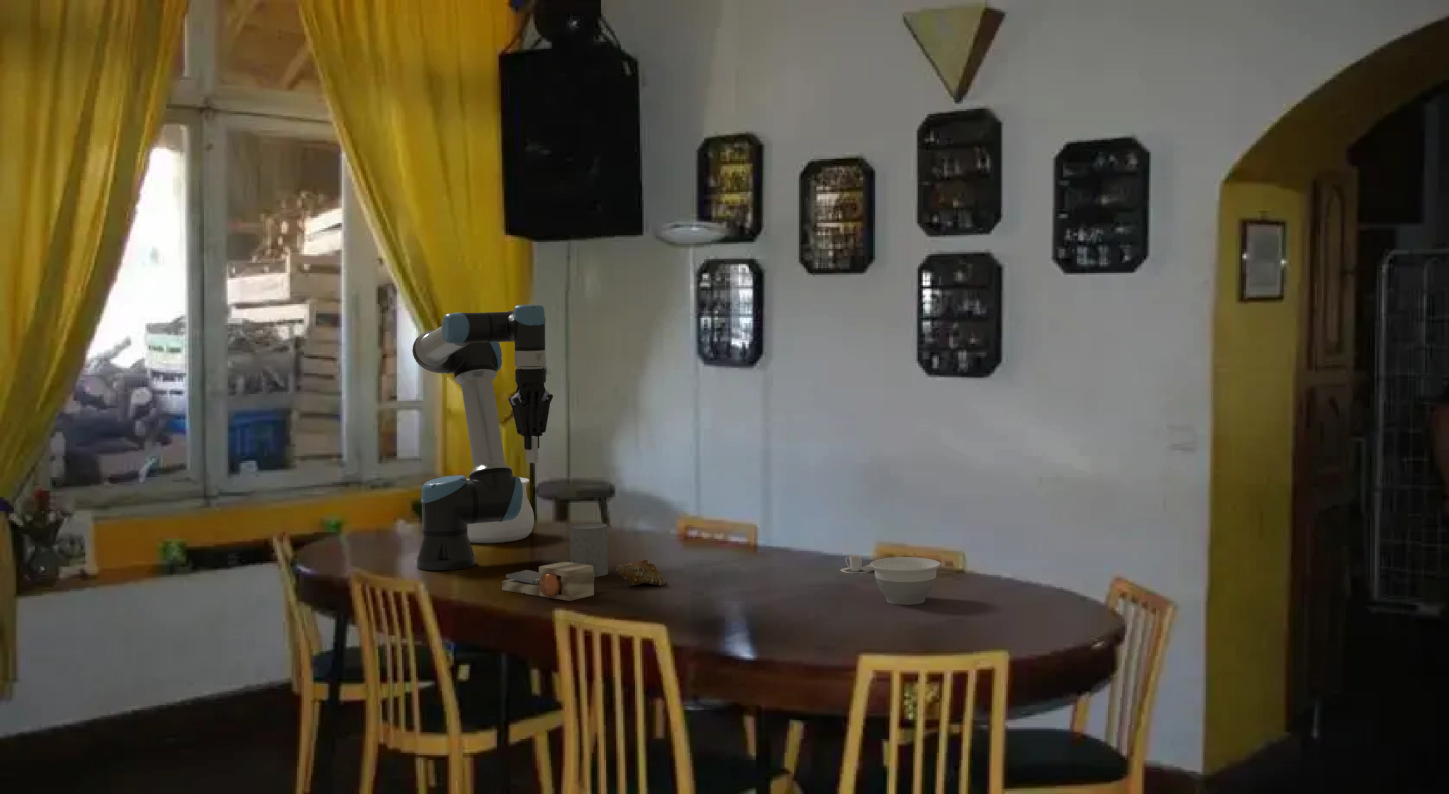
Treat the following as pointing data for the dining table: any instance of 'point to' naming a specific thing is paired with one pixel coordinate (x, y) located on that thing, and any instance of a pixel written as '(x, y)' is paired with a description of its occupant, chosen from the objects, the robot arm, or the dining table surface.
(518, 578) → the latch flap
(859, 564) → the teacup and saucer
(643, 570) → the seashell
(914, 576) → the bowl
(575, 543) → the grey stone cylinder
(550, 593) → the pin
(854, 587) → the dining table surface
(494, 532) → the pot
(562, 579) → the block
